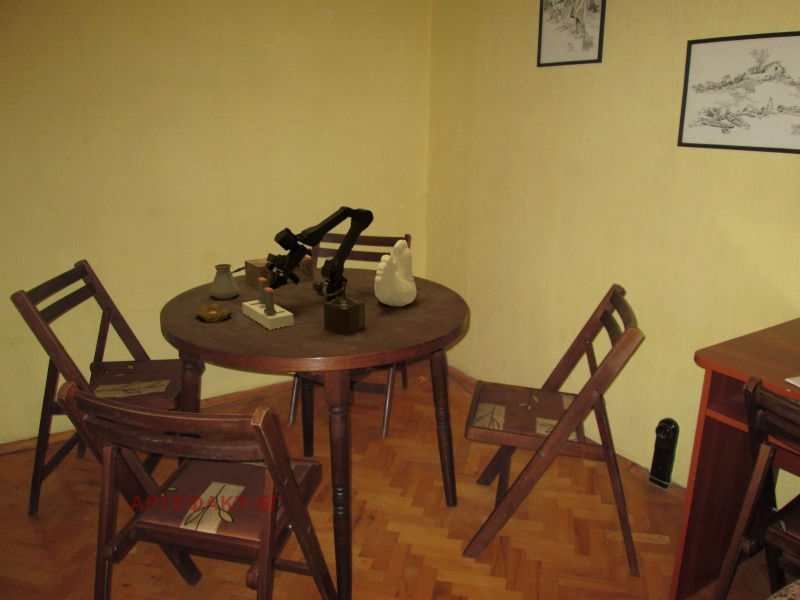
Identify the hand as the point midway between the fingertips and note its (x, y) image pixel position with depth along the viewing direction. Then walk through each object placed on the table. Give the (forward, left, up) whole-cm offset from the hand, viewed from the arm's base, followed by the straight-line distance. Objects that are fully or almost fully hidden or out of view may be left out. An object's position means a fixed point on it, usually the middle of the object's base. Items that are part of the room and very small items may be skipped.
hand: (268, 291), depth 224 cm
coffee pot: (+21, -12, -8) cm, 26 cm away
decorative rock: (+18, +10, -9) cm, 22 cm away
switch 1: (+1, +2, -4) cm, 5 cm away
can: (-11, -42, -8) cm, 44 cm away
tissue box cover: (+14, -42, -9) cm, 45 cm away
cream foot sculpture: (-42, -19, -8) cm, 47 cm away
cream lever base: (-3, +8, -8) cm, 11 cm away
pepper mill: (-32, +13, -8) cm, 35 cm away
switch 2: (-7, +14, -4) cm, 16 cm away
